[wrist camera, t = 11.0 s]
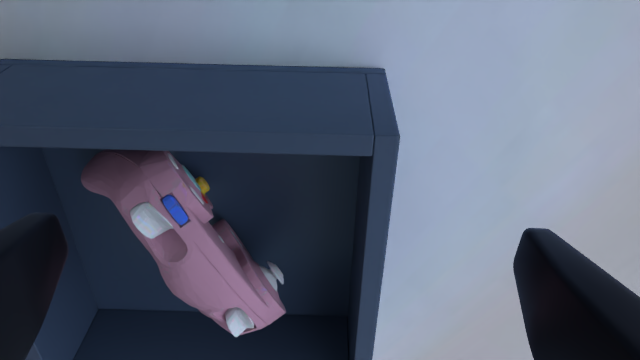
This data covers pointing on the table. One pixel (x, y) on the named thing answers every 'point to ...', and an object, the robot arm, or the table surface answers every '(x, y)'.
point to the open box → (225, 195)
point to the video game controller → (187, 238)
